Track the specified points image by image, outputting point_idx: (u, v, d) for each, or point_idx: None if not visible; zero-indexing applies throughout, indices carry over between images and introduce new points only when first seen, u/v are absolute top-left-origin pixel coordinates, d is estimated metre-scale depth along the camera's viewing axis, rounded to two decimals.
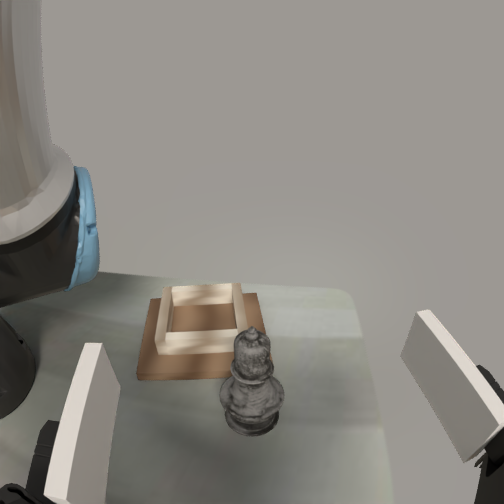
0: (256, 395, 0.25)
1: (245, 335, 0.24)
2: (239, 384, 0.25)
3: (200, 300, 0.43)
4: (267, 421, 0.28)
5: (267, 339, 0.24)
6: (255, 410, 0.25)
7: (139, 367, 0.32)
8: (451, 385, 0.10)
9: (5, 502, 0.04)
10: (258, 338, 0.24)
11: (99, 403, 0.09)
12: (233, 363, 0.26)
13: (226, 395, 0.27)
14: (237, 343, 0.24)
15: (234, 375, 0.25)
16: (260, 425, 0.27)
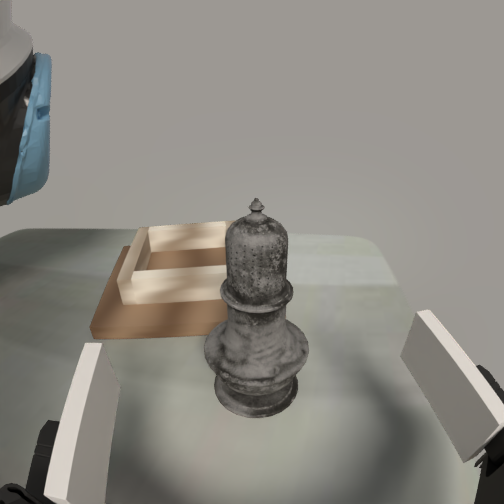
0: (264, 339, 0.15)
1: (245, 218, 0.14)
2: (235, 320, 0.15)
3: (185, 243, 0.33)
4: (281, 393, 0.18)
5: (282, 227, 0.14)
6: (263, 368, 0.16)
7: (95, 320, 0.23)
8: (451, 385, 0.10)
9: (5, 502, 0.04)
10: (267, 222, 0.14)
11: (99, 403, 0.09)
12: (224, 283, 0.16)
13: (214, 347, 0.17)
14: (231, 232, 0.14)
15: (226, 300, 0.15)
16: (270, 399, 0.18)
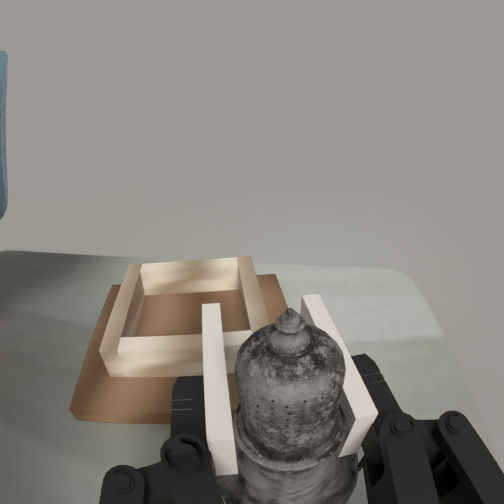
0: (302, 481, 0.09)
1: (270, 342, 0.07)
2: (259, 465, 0.09)
3: (186, 285, 0.26)
4: None
5: (337, 347, 0.08)
6: None
7: (76, 398, 0.16)
8: None
9: (172, 452, 0.07)
10: (311, 347, 0.07)
11: None
12: (238, 414, 0.09)
13: (230, 475, 0.10)
14: (245, 368, 0.07)
15: (244, 448, 0.08)
16: None
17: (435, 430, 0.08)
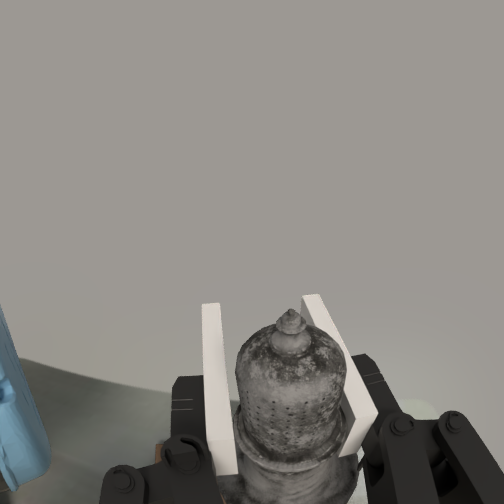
0: (303, 482, 0.09)
1: (271, 342, 0.07)
2: (260, 466, 0.09)
3: None
4: None
5: (338, 348, 0.07)
6: None
7: None
8: None
9: (171, 452, 0.07)
10: (312, 348, 0.07)
11: None
12: (239, 414, 0.09)
13: (230, 476, 0.10)
14: (246, 369, 0.07)
15: (244, 449, 0.08)
16: None
17: (434, 430, 0.08)
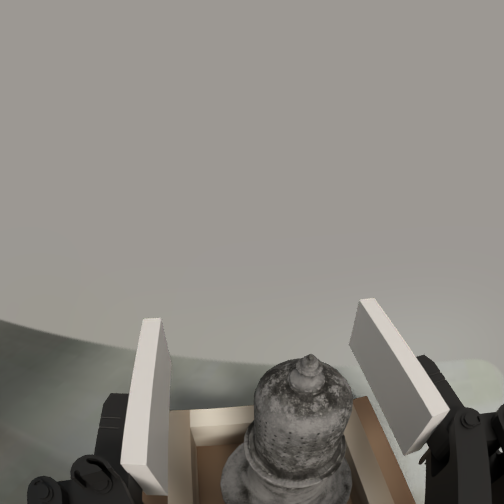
0: (302, 495, 0.09)
1: (290, 381, 0.08)
2: (266, 481, 0.09)
3: None
4: None
5: (346, 385, 0.08)
6: None
7: None
8: (389, 373, 0.11)
9: (80, 473, 0.06)
10: (326, 387, 0.08)
11: (161, 374, 0.11)
12: (249, 435, 0.10)
13: (234, 487, 0.11)
14: (266, 403, 0.08)
15: (254, 467, 0.09)
16: None
17: (494, 419, 0.07)
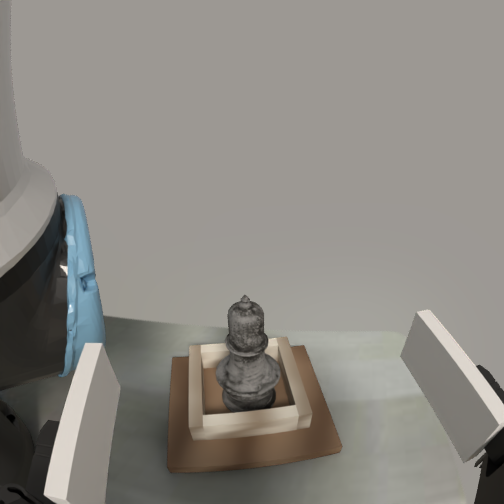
0: (251, 369, 0.26)
1: (239, 305, 0.24)
2: (234, 359, 0.26)
3: None
4: (264, 401, 0.28)
5: (260, 309, 0.25)
6: (251, 386, 0.26)
7: (170, 458, 0.22)
8: (451, 385, 0.10)
9: (5, 502, 0.04)
10: (251, 307, 0.24)
11: (99, 403, 0.09)
12: (227, 337, 0.26)
13: (222, 373, 0.27)
14: (231, 313, 0.24)
15: (229, 348, 0.25)
16: (257, 404, 0.28)
17: None
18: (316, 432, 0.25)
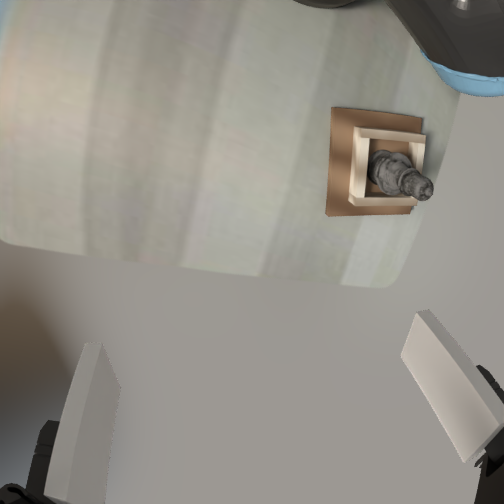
0: (392, 178, 0.37)
1: (428, 187, 0.31)
2: (401, 170, 0.35)
3: None
4: (374, 177, 0.41)
5: (423, 200, 0.33)
6: (382, 174, 0.38)
7: (341, 110, 0.37)
8: (451, 385, 0.10)
9: (5, 502, 0.04)
10: (424, 195, 0.32)
11: (99, 403, 0.09)
12: (416, 170, 0.34)
13: (397, 157, 0.37)
14: (425, 180, 0.31)
15: (407, 170, 0.34)
16: (372, 172, 0.41)
17: None
18: (343, 203, 0.43)
